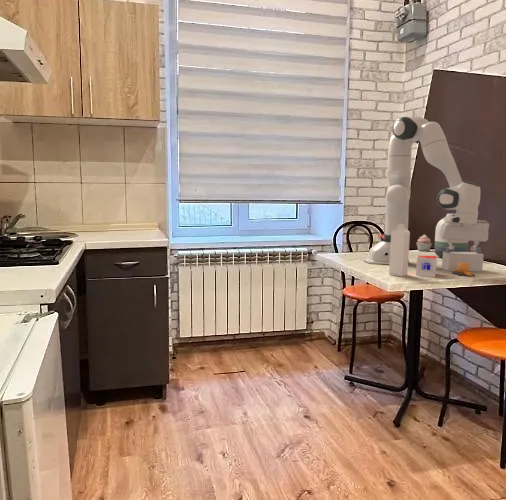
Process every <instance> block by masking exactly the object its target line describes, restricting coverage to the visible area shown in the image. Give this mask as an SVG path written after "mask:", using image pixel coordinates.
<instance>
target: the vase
mask: <svg viewBox="0 0 506 500" xmlns="http://www.w3.org/2000/svg"><path fill="white" fill-rule="evenodd" d="M454 214H455V213H447V214H446V216H450V215H454ZM444 222H446V221H444V217H443V218H441V219H440V220H439V221H438V222H437V224H436V226H435V231H434V232H435V233H434V235H435V236H434V252H435V256H437V257H440V258H443V252H445V247H449V246H450V245H449V243H448V239H442V238H441V237H440V231H441V227H442V224H443V223H444ZM451 243H452V245H453V246H454V250H450V252H468V250H469V248H468V247H469V241H467V240H453V242H451Z"/></svg>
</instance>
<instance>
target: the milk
mask: <svg viewBox="0 0 506 500" xmlns="http://www.w3.org/2000/svg"><path fill="white" fill-rule="evenodd" d="M410 235H411V232H410V231H409V230H407V229H405V228H404V224H399V225H398V228H397V229H395V230H393V231H391V245H390V263H389V264H388V266H389V267H388V275H389V276H396V277H404V276H407V275H408V270H409V269H408V268H409V263H408V259H409V257H410V255H409V253H410V237H411V236H410Z"/></svg>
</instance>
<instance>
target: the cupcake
mask: <svg viewBox="0 0 506 500" xmlns="http://www.w3.org/2000/svg"><path fill="white" fill-rule="evenodd" d="M415 244H416V246H417V251H419V252H424V251H427V252H430V251H431V247H432V245H433V243H432V242H431V238H429V237H428V236H427V235H426V234H423V235H421V236H419V238H418V239H417V242H415Z"/></svg>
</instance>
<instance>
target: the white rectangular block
mask: <svg viewBox="0 0 506 500" xmlns="http://www.w3.org/2000/svg"><path fill="white" fill-rule="evenodd" d="M441 258H442V260H441V269H442V270H445V271H447V272H455V271H454V268H458V262H467V263H470V267H469V272H483V269H484V268H483V266H484V265H483V264H484V253H482V247H476V249H475V251H467V252H450V249H449V247H445V252H443V257H441Z"/></svg>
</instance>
